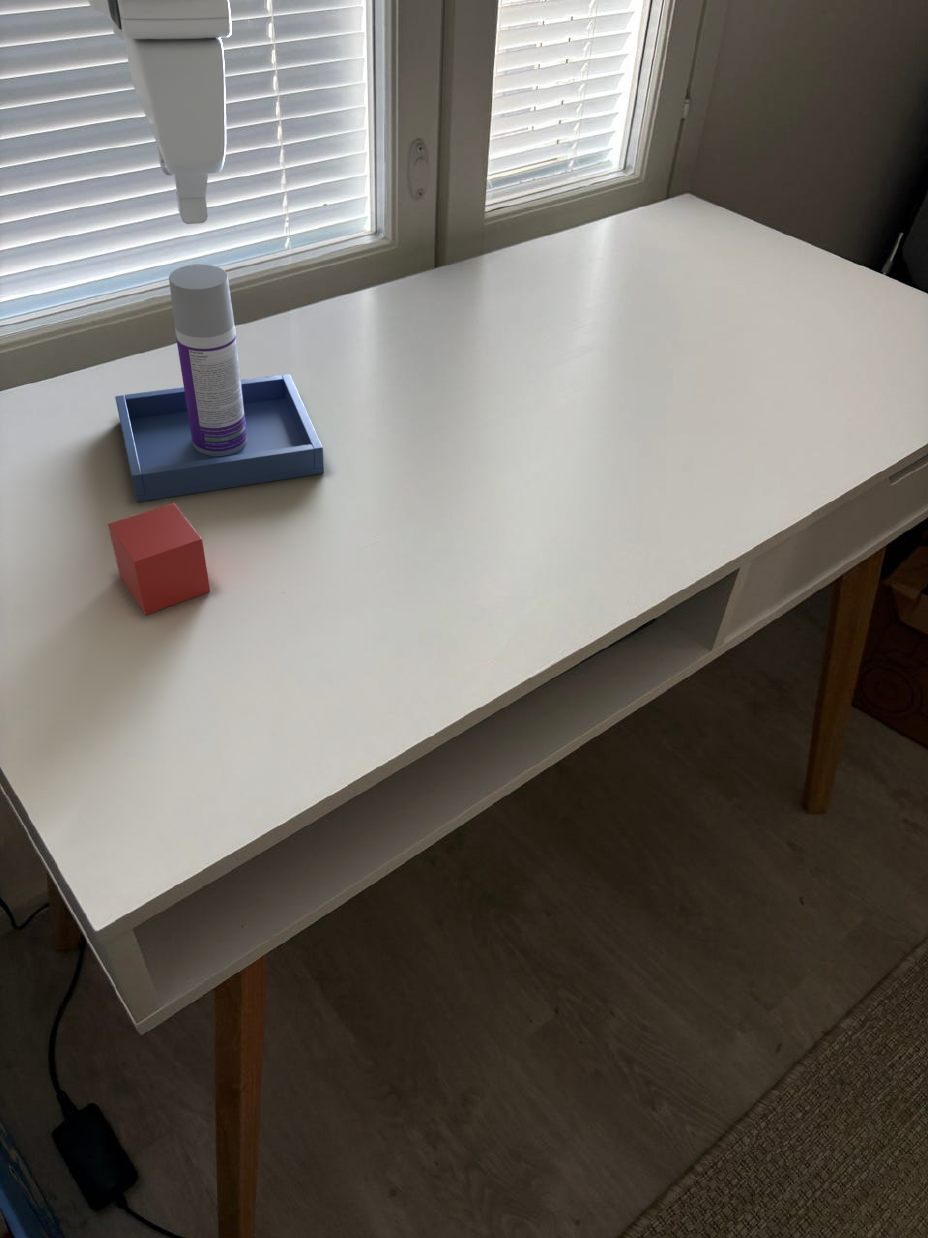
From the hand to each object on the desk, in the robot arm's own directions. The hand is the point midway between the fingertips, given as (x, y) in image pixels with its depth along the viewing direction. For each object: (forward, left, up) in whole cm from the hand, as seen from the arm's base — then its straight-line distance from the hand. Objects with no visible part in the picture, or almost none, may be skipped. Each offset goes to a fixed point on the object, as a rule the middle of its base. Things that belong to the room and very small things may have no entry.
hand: (183, 194), depth 74 cm
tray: (0, 0, -22) cm, 22 cm away
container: (0, 0, -21) cm, 21 cm away
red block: (-7, -17, -22) cm, 28 cm away
